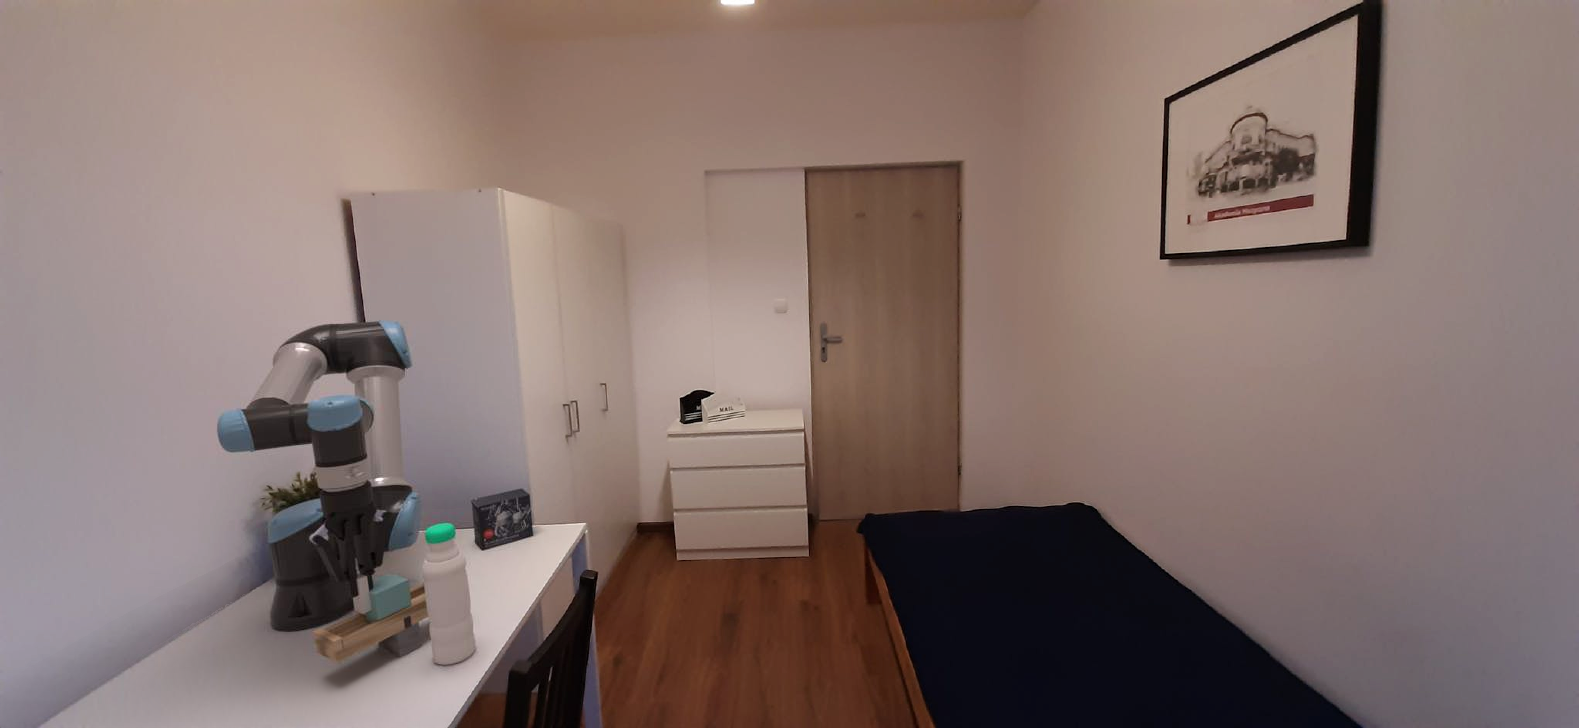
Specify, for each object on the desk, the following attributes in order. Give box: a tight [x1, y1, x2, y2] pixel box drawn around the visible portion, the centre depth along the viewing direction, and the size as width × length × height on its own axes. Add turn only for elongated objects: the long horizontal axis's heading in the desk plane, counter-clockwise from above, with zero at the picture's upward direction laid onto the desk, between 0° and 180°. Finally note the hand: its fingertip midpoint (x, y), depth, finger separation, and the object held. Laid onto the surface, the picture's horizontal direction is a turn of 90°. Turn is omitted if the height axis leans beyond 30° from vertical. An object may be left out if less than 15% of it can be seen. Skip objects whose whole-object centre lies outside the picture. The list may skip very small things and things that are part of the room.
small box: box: [471, 488, 534, 551], centre depth 167 cm, size 13×7×12 cm, turn 130°
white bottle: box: [421, 522, 476, 666], centre depth 115 cm, size 7×7×25 cm
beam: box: [312, 582, 429, 664], centre depth 119 cm, size 7×24×12 cm, turn 152°
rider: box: [361, 572, 412, 623], centre depth 117 cm, size 6×6×6 cm
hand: (363, 610), depth 114 cm, fingers closed
